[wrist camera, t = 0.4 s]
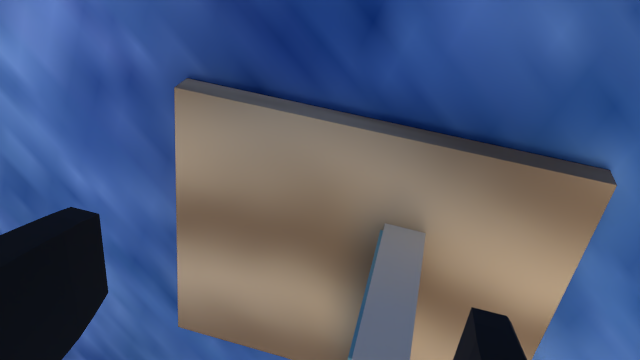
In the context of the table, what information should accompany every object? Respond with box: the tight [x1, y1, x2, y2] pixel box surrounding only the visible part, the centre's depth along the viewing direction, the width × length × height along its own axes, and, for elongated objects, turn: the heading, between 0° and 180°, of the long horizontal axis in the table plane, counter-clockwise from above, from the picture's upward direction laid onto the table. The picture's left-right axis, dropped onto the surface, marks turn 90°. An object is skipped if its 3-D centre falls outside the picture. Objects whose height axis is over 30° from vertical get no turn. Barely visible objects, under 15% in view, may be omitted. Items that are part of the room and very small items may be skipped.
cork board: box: [174, 78, 617, 360], centre depth 22 cm, size 12×15×1 cm
